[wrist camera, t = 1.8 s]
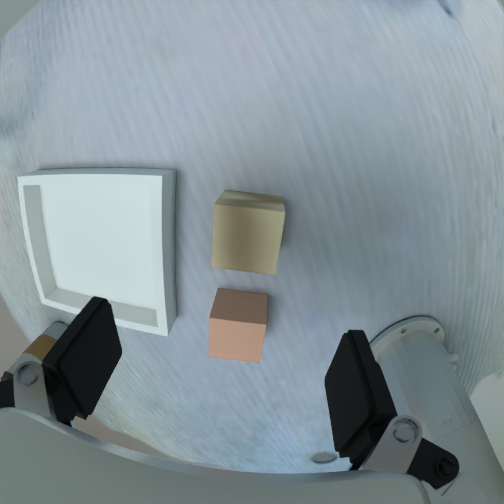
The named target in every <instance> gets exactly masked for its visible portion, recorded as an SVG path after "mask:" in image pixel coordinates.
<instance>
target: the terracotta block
mask: <svg viewBox="0 0 504 504" xmlns="http://www.w3.org/2000/svg"><path fill="white" fill-rule="evenodd" d="M266 326H267V294H262V293H254V292H245V291H237V290H229V289H221V288H218V290H217V293H216V297H215V300H214V303H213V307H212V310H211V314H210V317H209V357H215V358H222V359H230V360H237V361H246V362H255V363H260V359H261V353H262V348H263V343H264V337H265V332H266Z"/></svg>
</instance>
